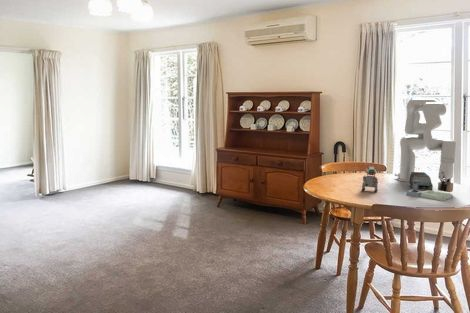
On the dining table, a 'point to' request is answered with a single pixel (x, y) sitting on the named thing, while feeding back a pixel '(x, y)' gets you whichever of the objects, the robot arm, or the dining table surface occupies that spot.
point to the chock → (448, 188)
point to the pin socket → (413, 193)
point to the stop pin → (415, 185)
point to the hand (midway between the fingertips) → (445, 189)
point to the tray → (435, 195)
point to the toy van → (421, 181)
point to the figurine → (370, 179)
